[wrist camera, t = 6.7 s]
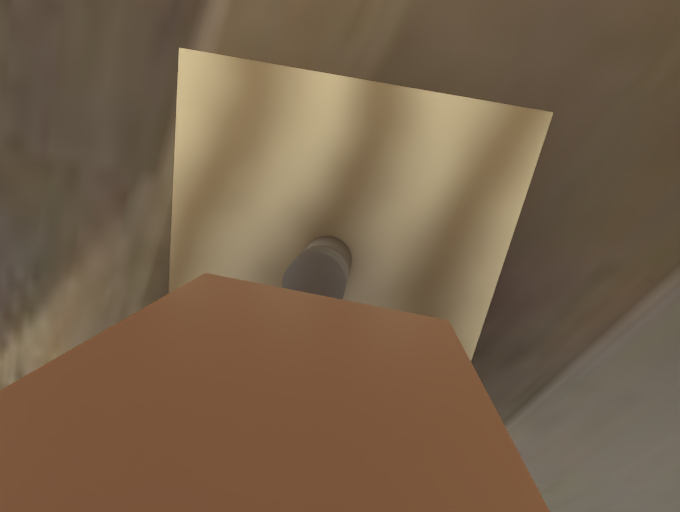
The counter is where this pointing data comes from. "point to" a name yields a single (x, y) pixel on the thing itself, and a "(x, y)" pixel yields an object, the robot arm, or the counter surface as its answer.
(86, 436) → the tan cardboard-like cube
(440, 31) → the counter surface
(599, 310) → the counter surface
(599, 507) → the counter surface
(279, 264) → the post base
